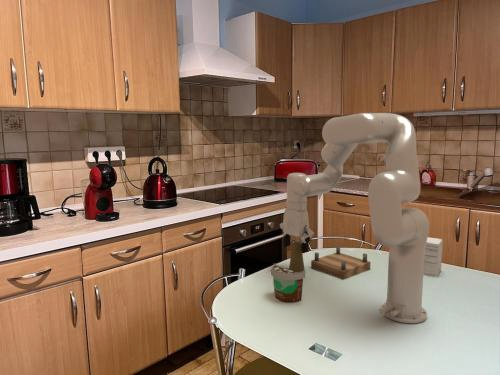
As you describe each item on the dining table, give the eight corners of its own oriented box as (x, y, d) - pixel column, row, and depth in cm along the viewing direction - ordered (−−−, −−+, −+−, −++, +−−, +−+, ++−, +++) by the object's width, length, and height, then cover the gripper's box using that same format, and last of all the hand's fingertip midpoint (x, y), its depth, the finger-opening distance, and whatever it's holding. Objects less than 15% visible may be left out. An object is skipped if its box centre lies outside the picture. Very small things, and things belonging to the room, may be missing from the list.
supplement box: (420, 267, 154) (422, 236, 152) (441, 271, 149) (443, 239, 147) (416, 273, 148) (417, 240, 146) (437, 277, 143) (439, 243, 142)
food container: (262, 297, 129) (262, 267, 127) (274, 291, 133) (274, 262, 132) (293, 308, 120) (293, 277, 119) (305, 301, 125) (305, 271, 123)
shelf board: (343, 279, 143) (344, 263, 142) (311, 267, 155) (311, 253, 154) (370, 269, 152) (370, 254, 151) (337, 259, 165) (337, 245, 164)
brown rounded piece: (294, 266, 157) (294, 239, 155) (307, 269, 153) (307, 242, 152) (285, 270, 152) (285, 243, 151) (299, 274, 149) (299, 245, 147)
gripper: (273, 203, 154) (273, 245, 156) (306, 211, 140) (305, 257, 143) (287, 200, 158) (287, 242, 161) (320, 208, 145) (319, 252, 148)
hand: (295, 249), depth 152 cm, fingers open, 9 cm apart
